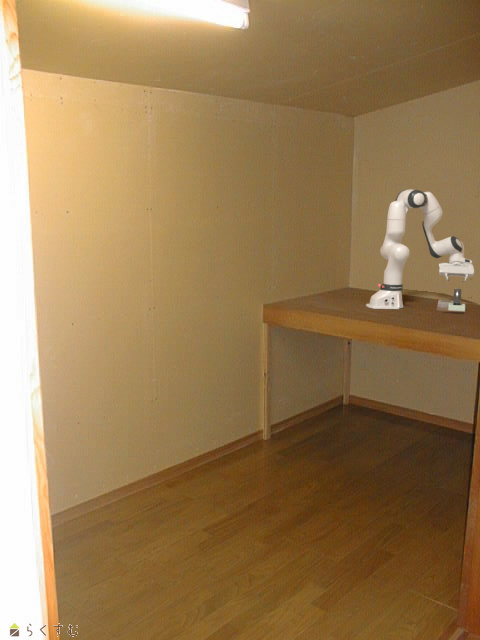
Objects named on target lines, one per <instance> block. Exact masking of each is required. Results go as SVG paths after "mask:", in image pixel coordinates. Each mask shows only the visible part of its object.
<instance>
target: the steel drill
mask: <svg viewBox="0 0 480 640" xmlns="http://www.w3.org/2000/svg"><path fill="white" fill-rule="evenodd" d="M452 299H453V300H452V301H453V305H460V303H461V302H462V300H461V299H462V289H461V288H454V289H453V298H452ZM461 304H462V303H461Z"/></svg>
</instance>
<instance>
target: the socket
mask: <svg viewBox="0 0 480 640" xmlns="http://www.w3.org/2000/svg"><path fill="white" fill-rule="evenodd" d="M449 303H453V300H451V299H450V300H447V299H438V301H437V304H438V307H448V306H449Z"/></svg>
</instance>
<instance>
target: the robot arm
mask: <svg viewBox="0 0 480 640" xmlns="http://www.w3.org/2000/svg"><path fill="white" fill-rule="evenodd" d="M409 209H419V210H420V212H421V214H422V216H423V221H422V230H423V233H424V237H425V240H426V243H427V246H428V251H429V254H430V256H431V257H432V258H435V259H439V258H442V257H444V256H447V255H448V256H449V258H448V262H440V263H439V264H438V268H439V270H438V275H439V276H443V277H444V278H445V279H446V282H449V281H450V277H458V278H459V277H460V278H461V277H462V282H463V283H464V282H465V283H466V282H467V279H468V278H473V277H474V276H475V268H474V264H473V261H472V260H471V259H468V258H466V257H465V246H464V242H462V240H460V239H459V237H457V236H454V235H453V236H451V235H450V236H449V237H446V238H444V239H441V240H435V236H434V233H433V227H434V226H435V225H436V224H438V223H439V222H440V220H441V219H442V217H443V214H444V213H443V209H442V206H441V205H440V203H439V201H438V199H437V198H436V196H435V195H434V194H433V193H432V192H431V191H424V192H423V191H422V190H420V189H404V190H402V191H400V192H398V193H397V196H396V198H395V200H394V201H392V202H391V203H389V207H388V211H387V218H386V231H385V236H384V240H383V244H382V245H381V247H380V249H379V251H380V256H381V257H382V258H383V259H384V260H386V261H387V264H386V267H385V269H384V271H383V283H382V284H381V283H378V284H377V287H378V288H380V289H379V290H378V291H377V292H375V293H374V294H373V295H371V297H370V298H369V299H370V300H369V303H366V304H365V307H367V308H369V309H374V310H400V309H402V308H404V304H403V289H404V287H403V286H404V284H403V278H404V277H403V275H404V268H405V266H406V262H407V260H408V259H409V258H410V249H409V247H408V246H406V245H405V244H403V243H402V240H403V237H404V235H405V234H406V230H407V229H406V227H407V224H406V223H407V213H408V211H409Z"/></svg>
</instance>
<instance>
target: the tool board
mask: <svg viewBox="0 0 480 640" xmlns="http://www.w3.org/2000/svg"><path fill="white" fill-rule="evenodd" d="M436 311H448V312H443V314H456V315H466V313H467V312H466V311H467V310H466V308H465V311H453V310H448V307H438V303H437V304H436Z"/></svg>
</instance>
